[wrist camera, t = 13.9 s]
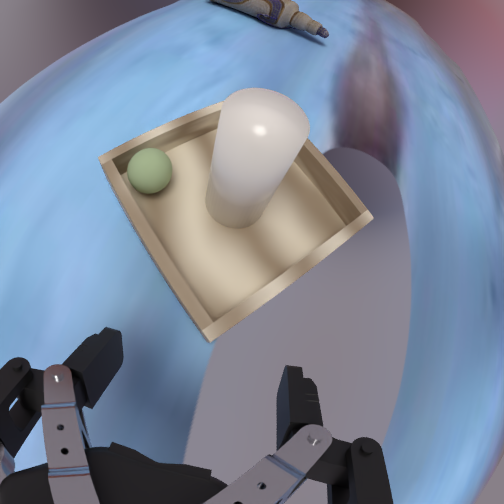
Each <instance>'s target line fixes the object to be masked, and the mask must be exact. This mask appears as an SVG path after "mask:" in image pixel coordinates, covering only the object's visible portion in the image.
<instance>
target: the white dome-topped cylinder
mask: <svg viewBox="0 0 504 504" xmlns="http://www.w3.org/2000/svg"><path fill="white" fill-rule="evenodd" d="M309 131H310V125H309V121H308V118H307V116H306V114H305V113H304V111H303V110H302V109H301V108H300V106H299V105H298V104H296V103H295V102H294V101H293V100H291V99H290V98H288V97H287V96H285V95H283V94H281V93H278V92H275V91H272V90H268V89H263V88H247V89H242V90H239V91H236V92H234V93H232V94H231V95H230V96H228V97H227V98H226V99H225V101H224V102H223V105H222V108H221V113H220V118H219V123H218V128H217V134H216V139H215V144H214V150H213V155H212V161H211V167H210V173H209V178H208V185H207V191H206V197H205V203H206V207H207V210H208V212H209V214H210V215H211V217H212V218H213V219H214V220H215V221H217V222H218V223H220V224H221V225H223V226H226V227H229V228H245V227H248V226H250V225H252V224H254V223H255V222H256V221H257V220H258V219H259V218H260V217H261V215H262V213H263V212H264V210H265V208H266V207H267V205H268V203H269V202H270V200H271V198H272V196H273V195H274V193H275V191H276V190H277V188H278V186H279V185H280V183H281V181H282V180H283V178H284V176H285V175H286V173H287V171H288V169H289V168H290V166H291V164H292V163H293V161H294V159H295V158H296V156H297V154H298V153H299V151H300V149H301V148H302V146H303V144H304V143H305V141H306V139H307V137H308V135H309Z"/></svg>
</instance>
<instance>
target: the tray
mask: <svg viewBox="0 0 504 504" xmlns="http://www.w3.org/2000/svg"><path fill="white" fill-rule="evenodd" d="M223 102H224V101H222V102H219V103H216V104H214V105H211V106H208V107H205V108H203V109H200V110H197V111H195V112H192V113H190V114H187V115H185V116H182V117H180V118H178V119H175V120H173V121H170V122H168V123H166V124H164V125H161V126H159V127H157V128H155V129H152V130H150V131H148V132H146V133H144V134H142V135H140V136H138V137H136V138H134V139H132V140H130V141H128V142H126V143H124V144H122V145H120V146H118V147H116V148H114V149H112V150H110V151H108V152H107V153H105V154H103V155H101V156H99V157H98V159H99V161H100V164H101V166H102V169H103V171H104V173H105V176H106V178H107V180H108V182H109V184H110V186H111V188H112V190H113V192H114V194H115V195H116V197H117V199H118V201H119V203H120V205H121V207H122V208H123V210H124V212H125V214H126V216H127V217H128V219H129V221H130V223H131V224H132V226H133V228H134V230H135V231H136V233H137V235H138V237H139V238H140V240H141V242H142V243H143V245H144V247H145V248H146V250H147V252H148V253H149V255H150V257H151V258H152V260H153V262H154V263H155V265H156V267H157V268H158V270H159V271H160V273H161V274H162V276H163V278H164V279H165V281H166V282H167V284H168V285H169V287H170V289H171V290H172V292H173V293H174V295H175V296H176V298H177V299H178V301H179V302H180V304H181V305H182V307H183V308H184V310H185V311H186V313H187V314H188V316H189V317H190V318H191V320H192V321H193V323H194V324H195V326H196V327H197V328H198V330H199V331H200V333H201V334H202V336H203V337H204V338H205V340H206V341H207V342H208V343H210V342H212V341H213V340H215V339H216V338H218V337H219V336H220V335H222V334H223V333H225V332H226V331H227V330H229V329H230V328H232V327H233V326H235V325H236V324H237V323H239V322H240V321H242V320H243V319H244V318H246V317H247V316H249V315H250V314H251V313H253V312H254V311H255V310H257V309H258V308H260V307H261V306H262V305H264V304H265V303H266V302H268V301H269V300H270V299H272V298H273V297H274V296H276V295H277V294H279V293H280V292H281V291H283V290H284V289H285V288H286V287H288V286H289V285H291V284H292V283H293V282H294V281H296V280H297V279H298V278H300V277H301V276H302V275H304V274H305V273H306V272H308V271H309V270H310V269H311V268H313V267H314V266H315V265H317V264H318V263H319V262H320V261H322V260H323V259H324V258H325V257H327V256H328V255H329V254H330V253H332V252H333V251H334V250H336V249H337V248H338V247H339V246H341V245H342V244H343V243H344V242H345V241H347V240H348V239H349V238H350V237H352V236H353V235H354V234H356V233H357V232H358V231H359V230H360V229H362V228H363V227H364V226H365V225H366V224H368V223H369V222H370V221H371V220H372V219H374V217H373V216H372V215H371V214H370V212H369V211H368V209H367V208H366V207H365V206H364V205H363V203H362V202H361V201H360V199H359V198H358V197H357V196H356V194H355V193H354V192H353V190H352V189H351V188H350V187H349V185H347V183H346V182H345V180H344V179H343V178H342V177H341V176H340V175H339V173H338V172H337V171H336V170H335V169H334V167H333V166H332V165H331V164H330V163H329V162H328V160H327V159H326V158H325V157H324V156H323V155H322V154H321V152H320V151H319V150H318V149H317V148H316V147H315V146H314V145H313V144H312V142H311V141H310V140H309V139H308V138H307V139H306V141H305V143H304V144H303V146H302V148H301V149H300V151H299V153H298V154H297V156H296V158H295V159H294V161H293V163H292V164H291V166H290V168H289V169H288V171H287V173H286V175H285V176H284V178H283V180H282V181H281V183H280V185H279V186H278V188H277V190H276V191H275V193H274V195H273V196H272V198H271V200H270V202H269V203H268V205H267V207H266V208H265V210H264V212H263V213H262V215H261V217H260V218H259V219H258V220H257V221H256V222H255V223H254V224H252V225H250V226H248V227H245V228H229V227H226V226H223V225H221V224H220V223H218V222H217V221H215V220H214V219H213V218H212V217H211V215H210V214H209V212H208V210H207V207H206V203H205V197H206V191H207V185H208V178H209V173H210V167H211V161H212V155H213V150H214V144H215V139H216V134H217V128H218V123H219V118H220V113H221V108H222V105H223ZM146 148H156V149H159V150H161V151H163V152H164V153H165V154H167V156H168V157H169V159H170V161H171V163H172V176H171V179H170V181H169V183H168V184H167V185H166V186H165V187H164V188H163V189H162V190H160V191H158V192H156V193H152V194H146V193H141V192H139V191H137V190H136V189H135V188H134V187H133V186H132V185H131V184H130V182H129V180H128V176H127V168H128V164H129V162H130V160H131V158H132V157H133V156H134V155H135V154H136V153H137V152H139V151H140V150H143V149H146Z"/></svg>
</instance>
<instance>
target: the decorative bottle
mask: <svg viewBox="0 0 504 504" xmlns="http://www.w3.org/2000/svg"><path fill="white" fill-rule="evenodd" d="M210 1H213V2H216V3H220V4H223V5H225V6H228V7H231V8H234V9H237V10H240V11H242V12H244V13H247V14H249V15H252V16H255V17H257V18H258V19H259V20H261V19H262V20H261V21H263V22H265V23H267V24H269V25H272V26H274V27H278V28H292V27H286V26H288V25H291V26H293V27H294V28H293V29H299V30H303V31H307V32H308V33H310V34H312V35H319V36H321V37H324V38H327V37H328V36H329V33H328V31H327V30H326V29H325V28H323V27H322V24H320V23H318V22H317V21H315V20H312V19H311V18H310V17H309V16H308V15H307V14H305V13H303V12H299V6H298V4H297V3H295V2H294V1H291V0H210Z"/></svg>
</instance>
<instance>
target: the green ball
mask: <svg viewBox="0 0 504 504" xmlns="http://www.w3.org/2000/svg"><path fill="white" fill-rule="evenodd" d="M127 176H128V180H129V182H130V184H131V185H132V186H133V187H134V188H135V189H136V190H137V191H139V192H141V193H146V194H152V193H156V192H158V191H160V190H162V189H163V188H164V187H165V186H166V185H167V184H168V183H169V181H170V179H171V176H172V163H171V161H170V159H169V157H168V156H167V154H165V153H164V152H163V151H161V150H159V149H156V148H146V149H143V150H140V151H139V152H137V153H136V154H135V155H134V156H133V157H132V158H131V160H130V162H129V164H128V168H127Z"/></svg>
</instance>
